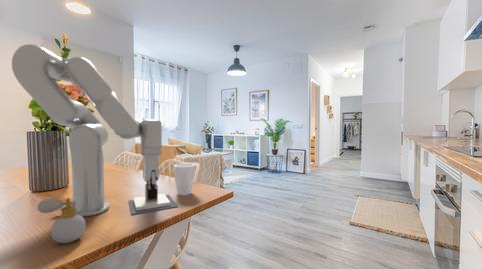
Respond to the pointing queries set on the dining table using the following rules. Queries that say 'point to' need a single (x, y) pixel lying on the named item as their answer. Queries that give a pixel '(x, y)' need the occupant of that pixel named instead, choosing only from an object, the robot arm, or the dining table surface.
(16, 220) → the dining table surface
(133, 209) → the mat
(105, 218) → the dining table surface
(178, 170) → the foam cup
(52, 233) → the perfume bottle
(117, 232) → the dining table surface
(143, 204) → the lid
